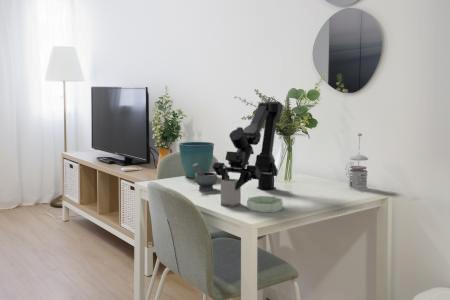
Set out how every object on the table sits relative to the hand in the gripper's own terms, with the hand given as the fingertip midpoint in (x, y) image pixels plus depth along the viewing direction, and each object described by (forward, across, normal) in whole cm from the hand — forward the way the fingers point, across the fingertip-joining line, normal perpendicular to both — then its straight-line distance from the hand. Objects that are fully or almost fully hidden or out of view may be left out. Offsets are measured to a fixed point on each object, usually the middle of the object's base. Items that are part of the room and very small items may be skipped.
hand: (229, 188), depth 173 cm
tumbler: (+4, 0, +6) cm, 7 cm away
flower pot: (-27, -43, +36) cm, 62 cm away
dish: (+2, +13, +7) cm, 15 cm away
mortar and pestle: (-9, -23, +19) cm, 31 cm away
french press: (-34, +35, +44) cm, 66 cm away
